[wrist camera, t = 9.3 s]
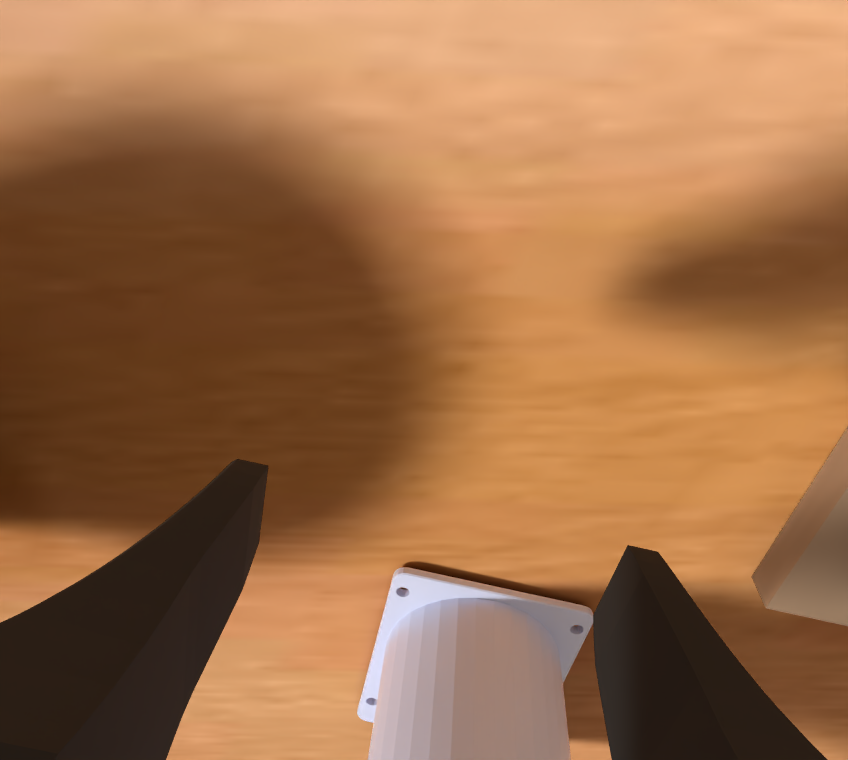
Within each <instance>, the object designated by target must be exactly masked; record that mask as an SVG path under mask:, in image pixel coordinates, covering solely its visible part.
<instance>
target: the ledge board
mask: <svg viewBox="0 0 848 760" xmlns="http://www.w3.org/2000/svg"><path fill="white" fill-rule="evenodd" d="M752 579H753V581H754V583H755V586H756V588H757V590H758V592H759V594H760V597H761V599H762V601H763V603H764V606H765V608H767V609H771V610H776V611H780V612H785V613H790V614H794V615H799V616H803V617H808V618H812V619H817V620H822V621H826V622H831V623H835V624H840V625H844V626H848V427H847V429H846V430H845V432H844V433H843V435H842V437H841V438H840V440H839V441H838V443H837V444H836V446H835V448H834V449H833V451H832V452H831V454H830V455H829V457H828V458H827V460H826V462H825V463H824V465H823V466H822V468H821V469H820V471H819V472H818V474H817V476H816V477H815V479H814V480H813V482H812V483H811V485H810V487H809V488H808V490H807V491H806V493H805V494H804V496H803V497H802V499H801V501H800V502H799V504H798V505H797V507H796V508H795V510H794V511H793V513H792V515H791V516H790V518H789V519H788V521H787V522H786V524H785V526H784V527H783V529H782V530H781V532H780V533H779V535H778V536H777V538H776V540H775V541H774V543H773V544H772V546H771V547H770V549H769V551H768V552H767V554H766V555H765V557H764V558H763V560H762V561H761V563H760V565H759V566H758V568H757V569H756V571H755V572H754V574H753V575H752Z"/></svg>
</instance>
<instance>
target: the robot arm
mask: <svg viewBox="0 0 848 760" xmlns="http://www.w3.org/2000/svg"><path fill="white" fill-rule="evenodd" d="M267 473H268V466H267V465H263V464H258V463H254V462H249V461H245V460H240V459H236V460H235V461H233V462H231V463H230V464H229V465H228V466H227V467H226V468H225V469H224V470H223V471H222V472H221V473H220V474H219V475H218V476H217V477H216V478H215V479H213V480H212V481H211V482H210V483H209V484H208V485H207V486H206V487H205V488H204V489H203V490H201V491H200V492H199V493H198V494H197V495H196V496H195V497H193V498H192V499H191V500H190V501H189V502H188V503H186V504H185V505H184V506H183V507H182V508H180V509H179V510H178V511H177V512H176V513H174V514H173V515H172V516H171V517H170V518H168V519H167V520H166V521H165V522H163V523H162V524H161V525H160V526H158V527H157V528H156V529H154V530H153V531H152V532H150V533H149V534H148V535H146V536H145V537H144V538H142V539H141V540H139V541H138V542H137V543H135V544H134V545H133V546H131V547H130V548H129V549H127V550H126V551H124V552H123V553H122V554H120V555H119V556H117V557H116V558H114V559H113V560H111V561H110V562H108V563H107V564H105V565H104V566H102V567H101V568H99V569H98V570H96V571H94V572H93V573H91V574H89V575H88V576H86V577H85V578H83V579H81V580H80V581H78V582H76V583H75V584H73V585H71V586H70V587H68V588H66V589H64V590H62V591H61V592H59V593H57V594H55V595H54V596H52V597H50V598H48V599H46V600H45V601H43V602H41V603H39V604H37V605H35V606H34V607H32V608H30V609H28V610H26V611H24V612H22V613H20V614H18V615H16V616H14V617H12V618H10V619H8V620H5V621H3V622H1V623H0V760H166V758H167V755H168V752H169V750H170V747H171V745H172V742H173V739H174V737H175V734H176V731H177V729H178V726H179V723H180V721H181V718H182V715H183V713H184V711H185V709H186V706H187V704H188V702H189V699H190V697H191V695H192V693H193V690H194V688H195V686H196V684H197V682H198V680H199V678H200V676H201V674H202V672H203V670H204V668H205V666H206V664H207V662H208V660H209V658H210V656H211V654H212V651H213V649H214V647H215V645H216V643H217V641H218V639H219V637H220V635H221V633H222V631H223V629H224V627H225V625H226V623H227V621H228V619H229V617H230V615H231V612H232V610H233V608H234V606H235V604H236V602H237V600H238V598H239V596H240V594H241V592H242V589H243V587H244V584H245V581H246V578H247V575H248V573H249V570H250V567H251V564H252V561H253V558H254V555H255V553H256V550H257V547H258V544H259V537H260V529H261V521H262V513H263V505H264V497H265V489H266V481H267ZM400 587H404V588H407V589H401V588H400ZM592 624H593V627H594V651H595V666H596V672H597V678H598V684H599V690H600V696H601V702H602V707H603V713H604V718H605V724H606V730H607V735H608V741H609V746H610V752H611V757H612V760H827V759H826V758H825V757H824V756H823V755H822V754H821V753H820V752H819V751H818V750H817V749H816V748H815V747H814V746H813V745H812V744H811V743H810V742H809V741H808V740H807V739H806V737H805V736H804V735H803V734H802V733H801V732H800V731H799V730H798V729H797V728H796V727H795V726H794V725H793V724H792V723H791V721H790V720H789V719H788V718H787V717H786V716H785V715H784V714H783V713H782V712H781V711H780V710H779V709H778V707H777V706H776V705H775V704H774V703H773V702H772V701H771V699H770V698H769V697H768V696H767V695H766V694H765V693H764V691H763V690H762V689H761V688H760V687H759V685H758V684H757V683H756V682H755V681H754V679H753V678H752V677H751V676H750V674H749V673H748V672H747V671H746V670H745V668H744V667H743V666H742V665H741V664H740V662H739V661H738V660H737V658H736V657H735V656H734V655H733V653H732V652H731V651H730V650H729V648H728V647H727V646H726V644H725V643H724V642H723V640H722V639H721V638H720V636H719V635H718V634H717V632H716V631H715V630H714V628H713V627H712V626H711V624H710V623H709V622H708V620H707V619H706V618H705V616H704V615H703V613H702V612H701V611H700V609H699V608H698V607H697V605H696V604H695V602H694V601H693V600H692V598H691V597H690V595H689V594H688V593H687V591H686V590H685V588H684V587H683V586H682V584H681V583H680V581H679V580H678V579H677V577H676V576H675V574H674V573H673V572H672V570H671V569H670V567H669V566H668V565H667V563H666V562H665V561H664V559H663V558H662V557H661V555H660V554H659V553H658V552H656V551H652V550H647V549H643V548H638V547H634V546H629V545H628V546H627V548H626V550H625V552H624V554H623V556H622V558H621V560H620V562H619V564H618V566H617V568H616V570H615V572H614V574H613V576H612V578H611V580H610V582H609V584H608V586H607V588H606V590H605V592H604V594H603V596H602V598H601V600H600V602H599V604H598V606H597V609H596V611H595V613H594V615H593V613H592V610H591V609H590V608H589V607H586V606H584V605H579V604H574V603H570V602H565V601H561V600H556V599H551V598H547V597H542V596H538V595H533V594H528V593H524V592H519V591H515V590H510V589H505V588H501V587H496V586H492V585H487V584H482V583H478V582H473V581H469V580H464V579H459V578H455V577H450V576H446V575H441V574H436V573H432V572H427V571H423V570H418V569H413V568H409V567H402V568H399V569H397V570H396V571H395V572H394V574H393V578H392V582H391V586H390V589H389V593H388V597H387V601H386V604H385V608H384V612H383V616H382V619H381V623H380V627H379V631H378V634H377V638H376V642H375V646H374V649H373V653H372V657H371V661H370V664H369V668H368V672H367V676H366V679H365V683H364V687H363V691H362V694H361V698H360V702H359V706H358V711H357V715H358V716H359V718H361V719H362V720H364V721H368V722H373V723H374V724H373V730H372V737H371V743H370V750H369V756H368V760H571V755H570V745H569V736H568V727H567V718H566V709H565V699H564V690H563V682H564V680H565V678H566V676H567V674H568V672H569V670H570V668H571V666H572V664H573V662H574V660H575V658H576V656H577V654H578V652H579V650H580V648H581V646H582V644H583V642H584V640H585V638H586V636H587V634H588V632H589V630H590V628H591V626H592ZM574 625H579V626H574Z"/></svg>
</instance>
